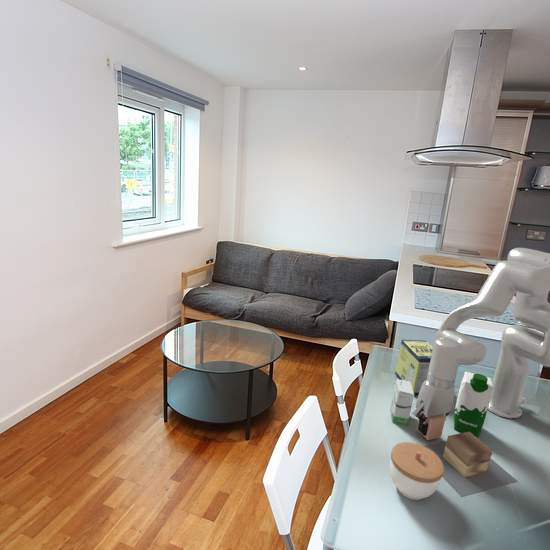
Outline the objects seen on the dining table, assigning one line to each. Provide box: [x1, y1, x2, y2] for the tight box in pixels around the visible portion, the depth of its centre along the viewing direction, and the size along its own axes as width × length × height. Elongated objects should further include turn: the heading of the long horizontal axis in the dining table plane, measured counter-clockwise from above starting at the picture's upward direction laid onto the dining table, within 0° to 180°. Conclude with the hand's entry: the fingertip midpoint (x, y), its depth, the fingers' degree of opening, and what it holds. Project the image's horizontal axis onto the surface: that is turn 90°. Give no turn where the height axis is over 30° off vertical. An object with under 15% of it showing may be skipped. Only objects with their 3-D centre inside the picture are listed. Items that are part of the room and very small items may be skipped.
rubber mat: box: [423, 440, 519, 498], centre depth 108 cm, size 20×18×1 cm
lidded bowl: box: [389, 441, 444, 501], centre depth 97 cm, size 13×13×11 cm
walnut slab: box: [445, 432, 493, 467], centre depth 107 cm, size 8×8×4 cm
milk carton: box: [453, 371, 493, 438], centre depth 122 cm, size 9×9×20 cm
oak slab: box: [443, 446, 489, 477], centre depth 108 cm, size 8×8×4 cm
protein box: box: [394, 339, 433, 397], centre depth 147 cm, size 10×16×16 cm
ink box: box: [389, 378, 415, 426], centre depth 126 cm, size 9×5×12 cm, turn 168°
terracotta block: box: [416, 415, 446, 441], centre depth 117 cm, size 5×5×7 cm
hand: (429, 430), depth 118 cm, fingers closed on terracotta block, 5 cm apart
